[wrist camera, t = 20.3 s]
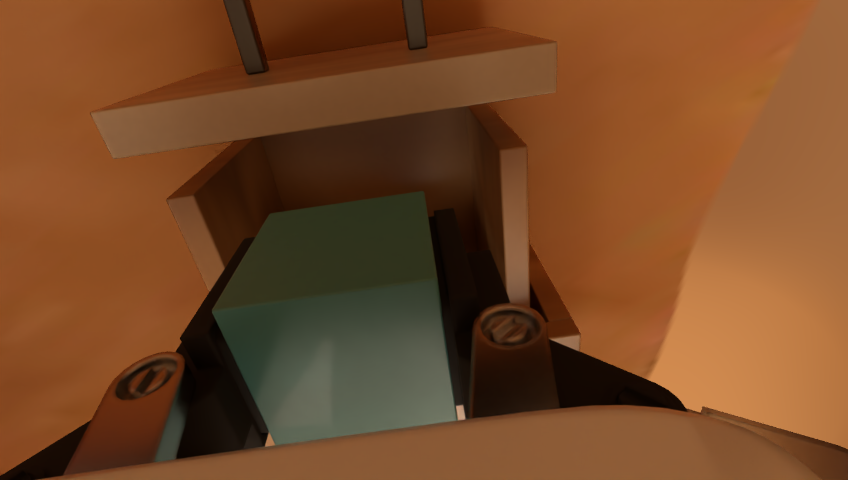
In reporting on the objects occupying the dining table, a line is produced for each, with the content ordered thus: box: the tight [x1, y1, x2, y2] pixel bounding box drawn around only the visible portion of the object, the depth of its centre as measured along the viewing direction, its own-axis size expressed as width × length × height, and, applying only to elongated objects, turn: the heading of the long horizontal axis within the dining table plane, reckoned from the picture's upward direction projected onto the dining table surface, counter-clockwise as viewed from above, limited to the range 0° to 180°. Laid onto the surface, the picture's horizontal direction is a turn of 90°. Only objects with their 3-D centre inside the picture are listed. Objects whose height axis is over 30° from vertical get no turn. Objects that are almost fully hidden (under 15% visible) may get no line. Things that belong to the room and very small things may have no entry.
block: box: [212, 191, 458, 445], centre depth 10 cm, size 4×4×4 cm
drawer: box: [90, 0, 557, 307], centre depth 16 cm, size 18×11×8 cm, turn 8°
